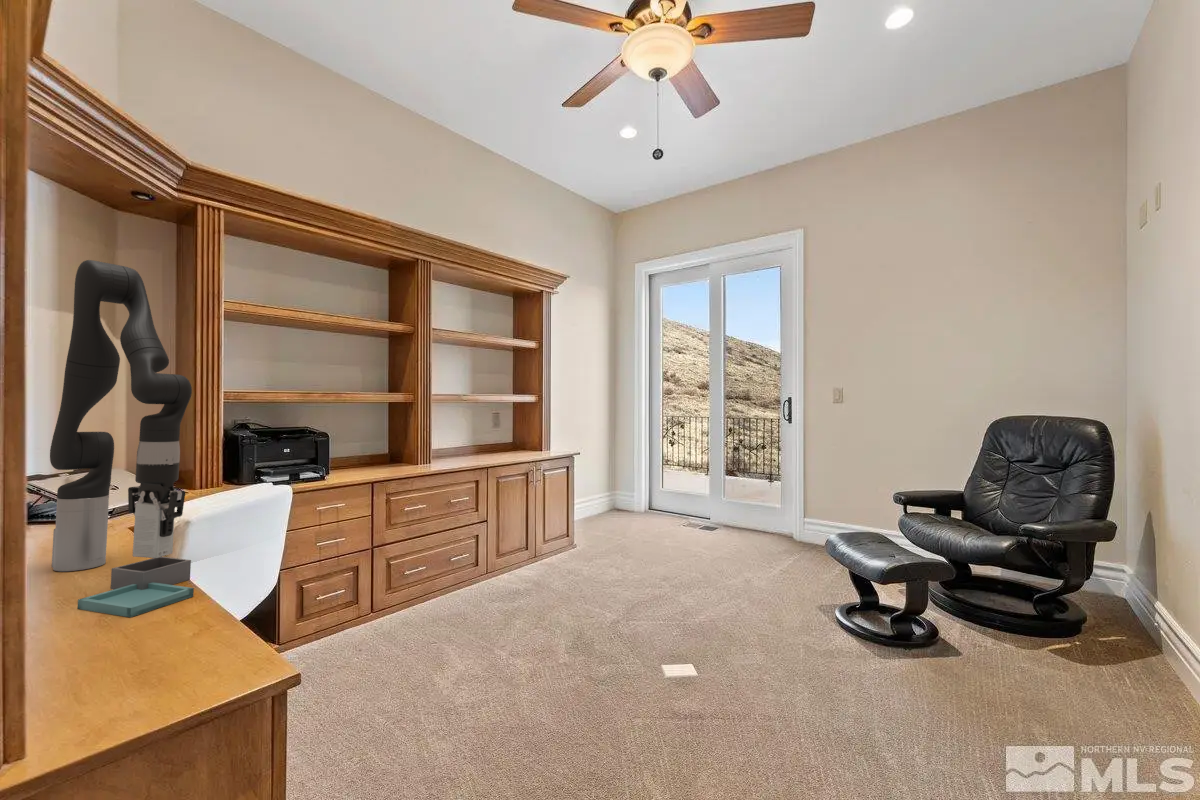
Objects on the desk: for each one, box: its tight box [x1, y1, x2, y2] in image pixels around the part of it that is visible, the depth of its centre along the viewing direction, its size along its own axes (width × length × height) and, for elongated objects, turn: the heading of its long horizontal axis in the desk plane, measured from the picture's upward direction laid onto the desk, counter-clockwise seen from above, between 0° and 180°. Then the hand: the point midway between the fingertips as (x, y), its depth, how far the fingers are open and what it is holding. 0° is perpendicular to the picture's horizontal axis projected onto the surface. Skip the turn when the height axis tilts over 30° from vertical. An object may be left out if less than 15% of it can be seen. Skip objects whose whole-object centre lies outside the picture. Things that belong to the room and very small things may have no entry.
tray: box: [77, 582, 195, 618], centre depth 107 cm, size 14×12×2 cm
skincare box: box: [132, 502, 176, 559], centre depth 119 cm, size 6×4×12 cm
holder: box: [110, 556, 192, 590], centre depth 118 cm, size 9×10×4 cm
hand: (154, 534), depth 119 cm, fingers closed on skincare box, 6 cm apart
